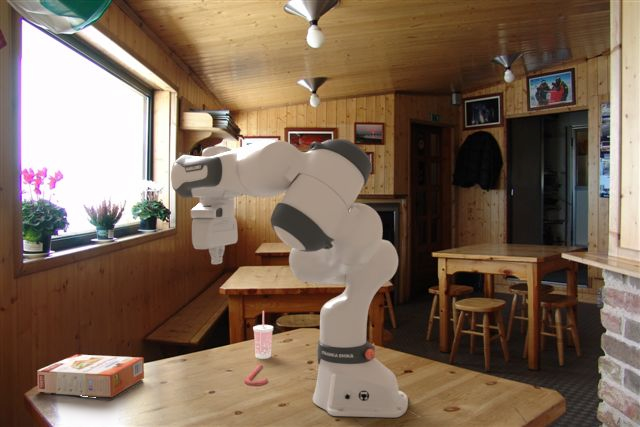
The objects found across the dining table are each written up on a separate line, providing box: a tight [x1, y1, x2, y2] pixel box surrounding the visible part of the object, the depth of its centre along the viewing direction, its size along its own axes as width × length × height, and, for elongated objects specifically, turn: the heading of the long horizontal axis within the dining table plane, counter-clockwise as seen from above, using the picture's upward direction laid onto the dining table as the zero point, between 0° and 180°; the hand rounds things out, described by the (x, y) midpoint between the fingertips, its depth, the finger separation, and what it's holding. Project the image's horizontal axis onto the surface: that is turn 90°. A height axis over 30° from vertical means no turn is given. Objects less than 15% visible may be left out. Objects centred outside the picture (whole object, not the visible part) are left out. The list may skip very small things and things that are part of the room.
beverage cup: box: [252, 310, 274, 360], centre depth 153 cm, size 6×6×14 cm
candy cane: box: [244, 363, 269, 387], centre depth 136 cm, size 6×15×2 cm, turn 170°
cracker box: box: [36, 354, 145, 397], centre depth 127 cm, size 14×6×21 cm
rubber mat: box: [88, 379, 144, 401], centre depth 126 cm, size 9×13×1 cm
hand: (216, 263), depth 130 cm, fingers closed
